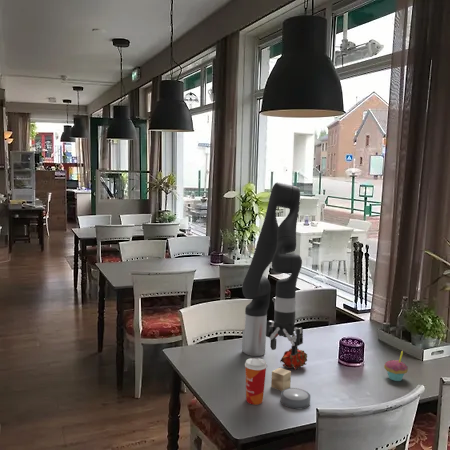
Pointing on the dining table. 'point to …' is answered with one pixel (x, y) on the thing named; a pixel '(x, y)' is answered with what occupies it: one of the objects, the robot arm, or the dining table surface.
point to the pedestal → (295, 398)
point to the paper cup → (255, 380)
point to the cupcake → (396, 369)
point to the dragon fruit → (294, 359)
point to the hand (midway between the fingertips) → (283, 352)
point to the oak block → (281, 379)
